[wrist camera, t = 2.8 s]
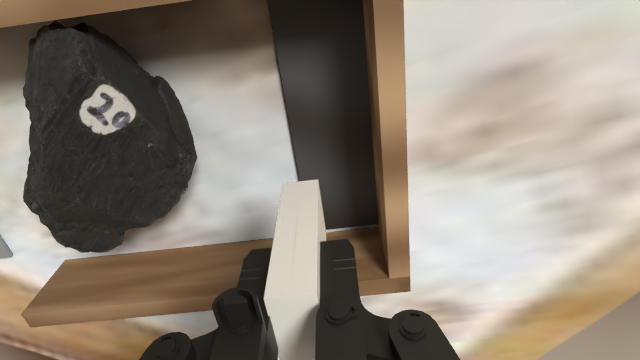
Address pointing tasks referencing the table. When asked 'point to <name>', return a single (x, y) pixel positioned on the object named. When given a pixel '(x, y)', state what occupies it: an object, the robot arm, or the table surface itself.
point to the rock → (100, 139)
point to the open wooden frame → (310, 151)
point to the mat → (4, 249)
